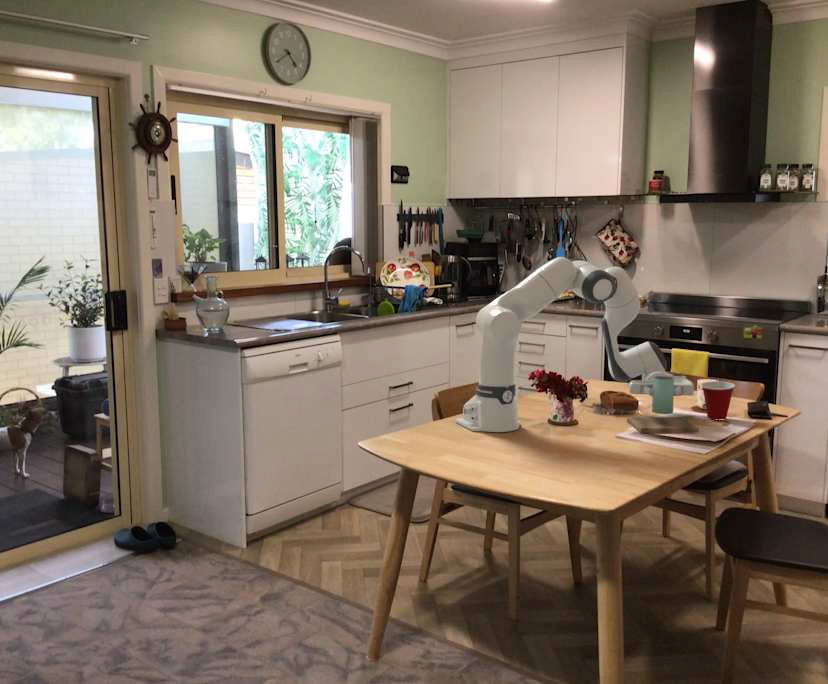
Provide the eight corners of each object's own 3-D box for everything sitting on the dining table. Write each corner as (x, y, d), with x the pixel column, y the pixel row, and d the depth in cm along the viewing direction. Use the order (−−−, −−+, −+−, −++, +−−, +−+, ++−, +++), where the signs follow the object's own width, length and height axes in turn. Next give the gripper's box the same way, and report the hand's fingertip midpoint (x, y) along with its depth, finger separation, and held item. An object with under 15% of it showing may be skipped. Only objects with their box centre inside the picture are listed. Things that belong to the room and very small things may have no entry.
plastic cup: (693, 418, 270) (694, 383, 269) (709, 414, 278) (710, 379, 276) (723, 424, 262) (725, 387, 261) (739, 419, 269) (741, 383, 268)
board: (640, 433, 250) (640, 428, 250) (627, 421, 266) (627, 417, 266) (698, 432, 250) (698, 428, 250) (681, 421, 266) (681, 417, 266)
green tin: (647, 411, 259) (648, 377, 257) (661, 408, 262) (662, 375, 260) (663, 414, 253) (664, 380, 252) (677, 412, 256) (678, 378, 255)
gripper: (626, 374, 271) (629, 381, 257) (690, 376, 267) (696, 383, 254) (626, 393, 272) (629, 401, 258) (689, 394, 268) (696, 402, 254)
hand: (663, 392), depth 256 cm, fingers closed on green tin, 6 cm apart
